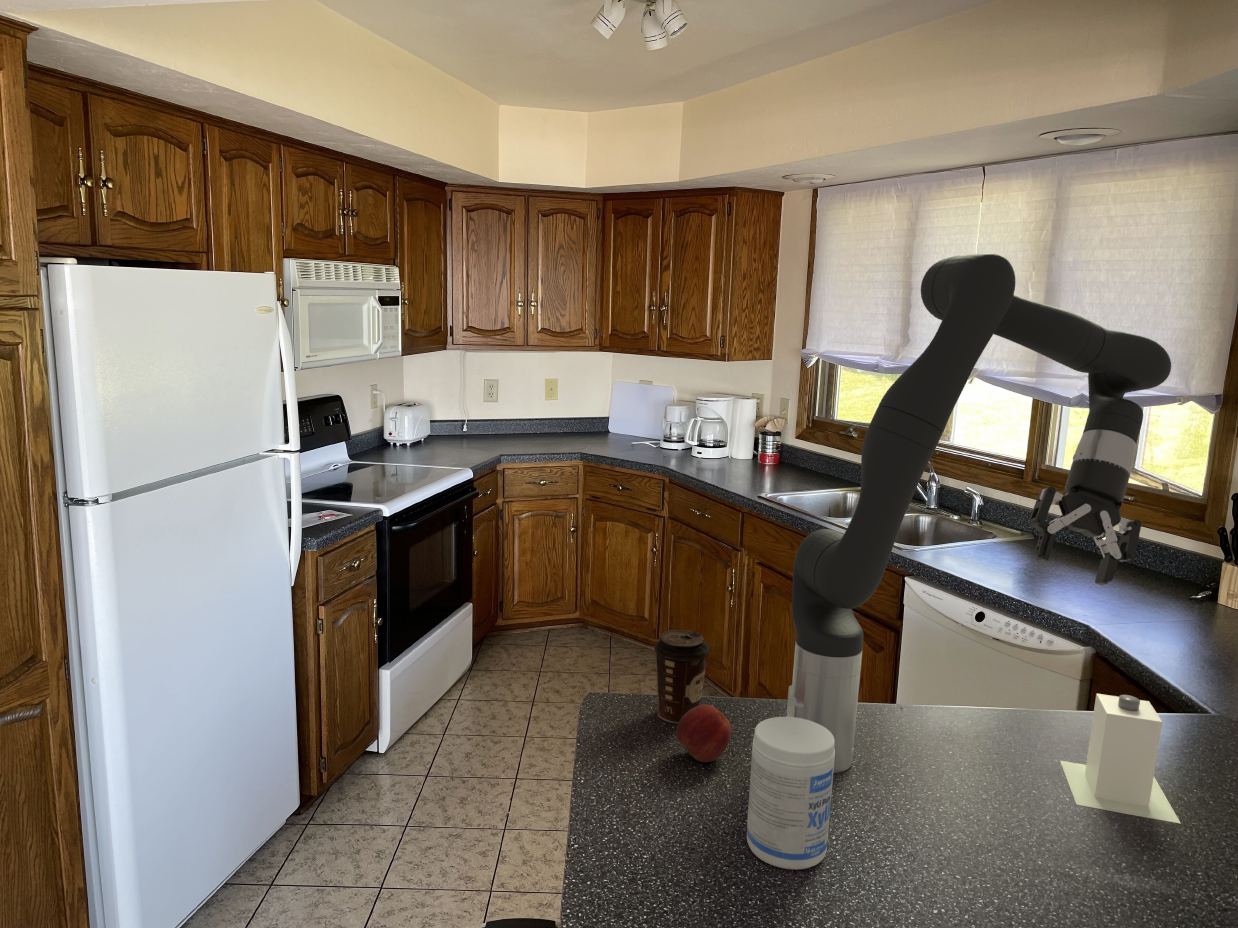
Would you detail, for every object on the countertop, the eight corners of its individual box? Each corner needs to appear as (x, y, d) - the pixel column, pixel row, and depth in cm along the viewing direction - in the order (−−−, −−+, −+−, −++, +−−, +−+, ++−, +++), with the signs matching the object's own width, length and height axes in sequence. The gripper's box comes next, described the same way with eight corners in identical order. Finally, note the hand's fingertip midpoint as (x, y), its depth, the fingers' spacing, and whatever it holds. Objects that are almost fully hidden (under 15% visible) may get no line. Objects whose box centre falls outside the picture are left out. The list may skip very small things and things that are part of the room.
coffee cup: (706, 705, 140) (710, 629, 138) (706, 729, 132) (711, 649, 130) (652, 701, 141) (656, 625, 139) (649, 725, 133) (653, 645, 130)
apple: (727, 775, 119) (731, 721, 118) (671, 768, 120) (674, 714, 119) (730, 748, 126) (733, 697, 125) (677, 742, 128) (680, 691, 126)
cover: (1094, 796, 115) (1108, 704, 113) (1084, 773, 121) (1097, 685, 119) (1148, 806, 113) (1163, 713, 111) (1136, 782, 120) (1150, 692, 117)
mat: (1075, 811, 114) (1076, 804, 113) (1059, 766, 125) (1060, 760, 125) (1179, 830, 110) (1180, 823, 110) (1153, 782, 121) (1154, 776, 121)
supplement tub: (823, 881, 98) (833, 761, 95) (739, 862, 100) (747, 745, 98) (829, 833, 107) (838, 722, 104) (752, 817, 109) (760, 709, 107)
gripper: (1066, 443, 122) (1035, 549, 118) (1165, 480, 120) (1137, 589, 117) (1040, 456, 129) (1010, 556, 125) (1133, 491, 128) (1106, 593, 124)
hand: (1071, 572), depth 121 cm, fingers open, 8 cm apart
